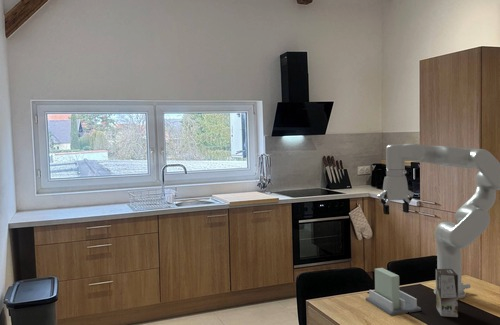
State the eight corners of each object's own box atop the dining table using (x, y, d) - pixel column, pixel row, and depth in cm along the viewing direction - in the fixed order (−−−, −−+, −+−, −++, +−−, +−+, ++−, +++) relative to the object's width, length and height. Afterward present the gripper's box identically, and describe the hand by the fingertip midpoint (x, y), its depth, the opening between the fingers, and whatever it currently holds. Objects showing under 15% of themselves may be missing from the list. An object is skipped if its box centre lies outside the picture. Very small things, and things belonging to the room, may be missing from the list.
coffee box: (458, 317, 168) (458, 275, 167) (440, 316, 169) (440, 274, 168) (452, 308, 177) (452, 268, 176) (435, 307, 178) (435, 268, 177)
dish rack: (394, 295, 193) (393, 285, 192) (421, 310, 175) (420, 299, 175) (365, 299, 189) (365, 289, 188) (390, 315, 171) (390, 304, 171)
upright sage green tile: (382, 298, 188) (381, 267, 187) (399, 308, 176) (399, 275, 175) (375, 299, 187) (374, 268, 186) (392, 309, 175) (391, 276, 174)
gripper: (407, 172, 195) (407, 210, 196) (372, 174, 190) (373, 213, 191) (418, 173, 188) (418, 213, 189) (382, 175, 183) (383, 216, 184)
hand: (396, 213), depth 190 cm, fingers open, 9 cm apart
